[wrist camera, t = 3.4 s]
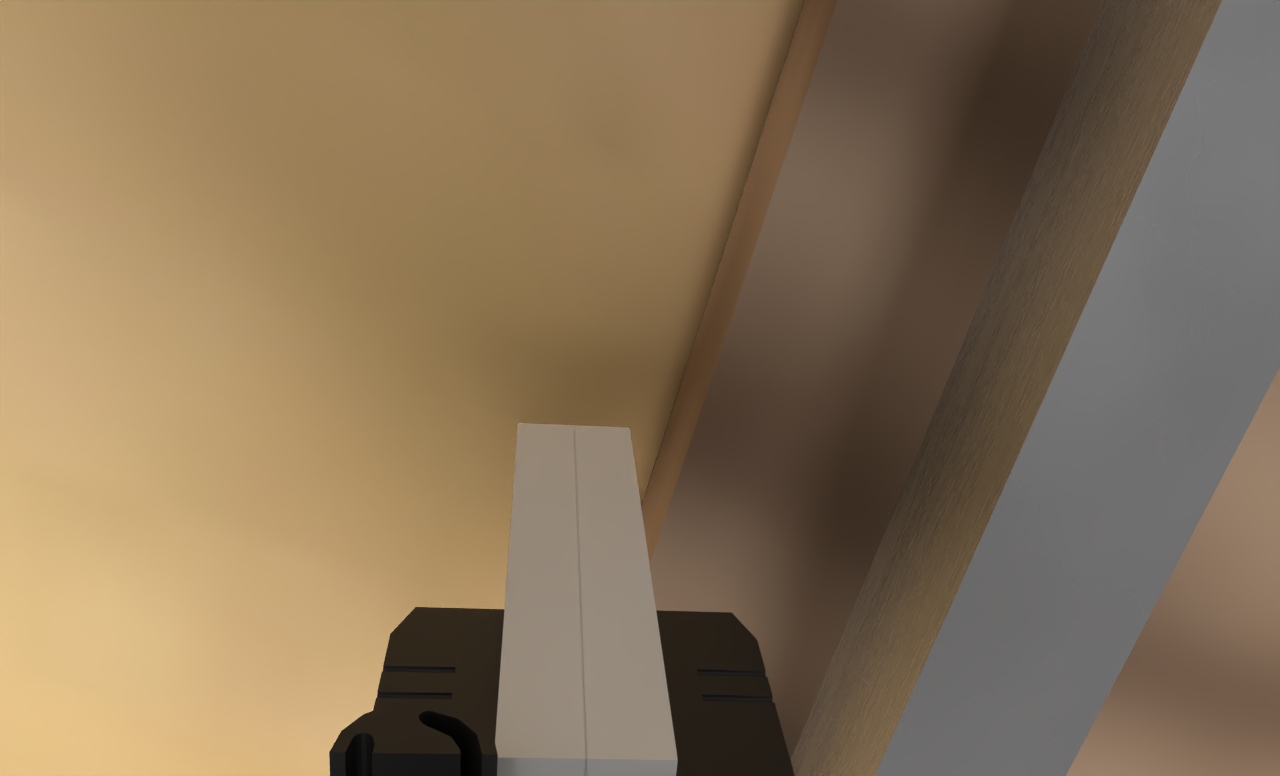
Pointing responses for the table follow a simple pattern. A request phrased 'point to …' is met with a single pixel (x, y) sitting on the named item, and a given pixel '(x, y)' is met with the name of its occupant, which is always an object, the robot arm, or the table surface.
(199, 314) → the table surface
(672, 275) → the table surface
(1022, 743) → the lever
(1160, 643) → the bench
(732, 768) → the robot arm
